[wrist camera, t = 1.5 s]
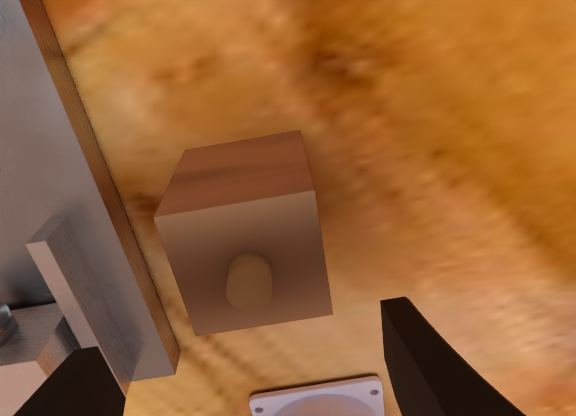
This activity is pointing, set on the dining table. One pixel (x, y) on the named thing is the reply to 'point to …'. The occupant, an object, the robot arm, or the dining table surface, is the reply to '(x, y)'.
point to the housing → (245, 235)
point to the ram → (30, 351)
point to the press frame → (68, 210)
